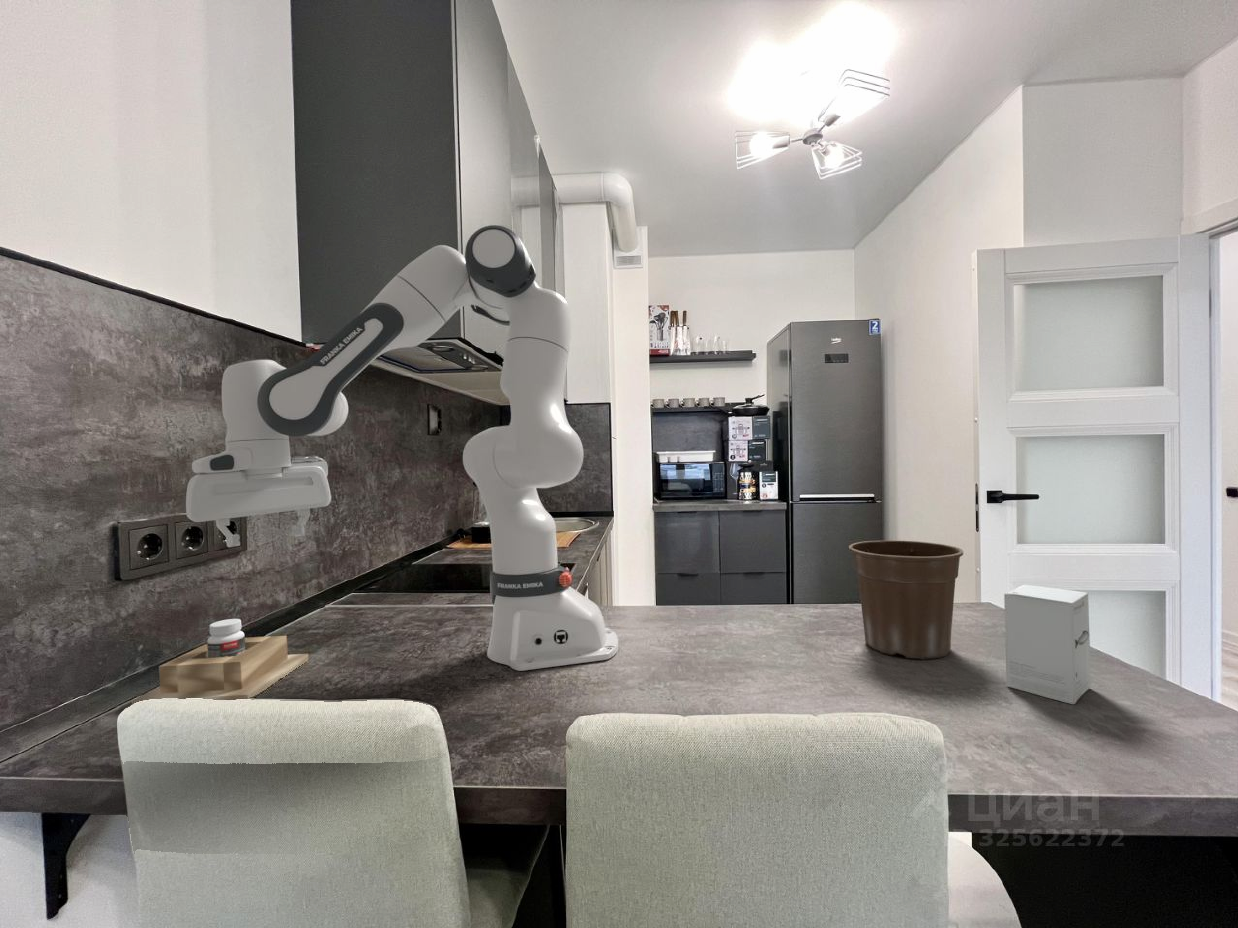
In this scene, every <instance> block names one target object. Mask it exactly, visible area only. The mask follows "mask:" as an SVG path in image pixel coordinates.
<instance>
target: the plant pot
mask: <svg viewBox="0 0 1238 928" xmlns="http://www.w3.org/2000/svg"><path fill="white" fill-rule="evenodd" d="M848 548H849V551H850V552H852V553H851V554H852V557H853V567H854V571H855V572H856V575H857V582H858V589H859V598H860V605H861V606H860V607H861V614H862V615H861V616H862V622H863V623H862V624H863V630H864V640H865V644H867V646H869V647H870V648H872V649H873V650H875V651H878V652H881V653H883V654H886V655H890V656H895V655H897V654H899V655H902V656H904V657H905V659H906V658H907V659H916V660H917V659H921V660H932V659H938V658H943V657H945V656H947V655H949V653H950V649H951V647H952V645H951V644H952V630H953V629H952V628H953V615H954V614H953V613H954V601H955V589H956V579H957V578H958V577H959V569H960V568H959V567H960V560H961V557H962V556H963V555H964V549H961V548H960V547H957V546H953V545H949V544H945V543H943V544H942V543H936V542H935V543H934V542H927V541H926V542H925V541H919V540H917V541H915V540H868V541H866V540H865V541H859V542H855V543H852V544H850V545H849V546H848Z"/></svg>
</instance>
